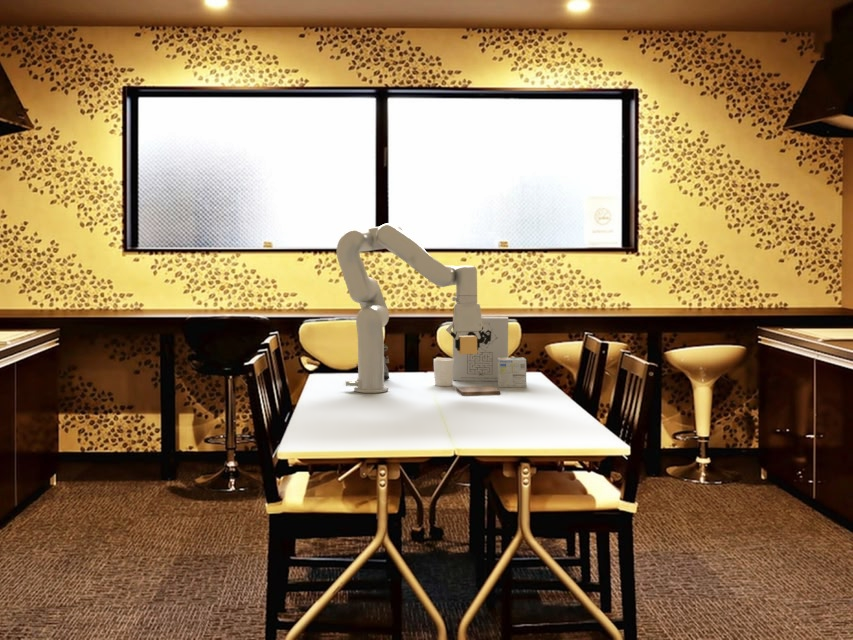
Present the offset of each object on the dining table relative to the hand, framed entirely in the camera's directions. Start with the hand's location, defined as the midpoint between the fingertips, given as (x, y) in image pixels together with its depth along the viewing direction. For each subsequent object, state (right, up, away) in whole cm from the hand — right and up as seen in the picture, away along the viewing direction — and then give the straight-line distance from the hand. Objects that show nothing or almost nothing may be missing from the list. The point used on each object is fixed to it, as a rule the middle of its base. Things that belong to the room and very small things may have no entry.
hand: (467, 349), depth 332 cm
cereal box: (+7, -13, +36) cm, 39 cm away
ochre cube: (0, -1, 0) cm, 1 cm away
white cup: (-8, -14, +22) cm, 28 cm away
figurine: (-36, -13, +36) cm, 52 cm away
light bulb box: (+18, -15, +19) cm, 30 cm away
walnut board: (+4, -16, +4) cm, 17 cm away
